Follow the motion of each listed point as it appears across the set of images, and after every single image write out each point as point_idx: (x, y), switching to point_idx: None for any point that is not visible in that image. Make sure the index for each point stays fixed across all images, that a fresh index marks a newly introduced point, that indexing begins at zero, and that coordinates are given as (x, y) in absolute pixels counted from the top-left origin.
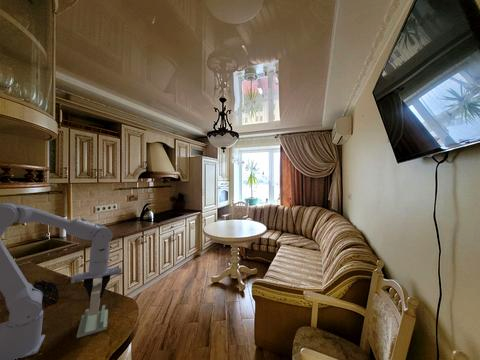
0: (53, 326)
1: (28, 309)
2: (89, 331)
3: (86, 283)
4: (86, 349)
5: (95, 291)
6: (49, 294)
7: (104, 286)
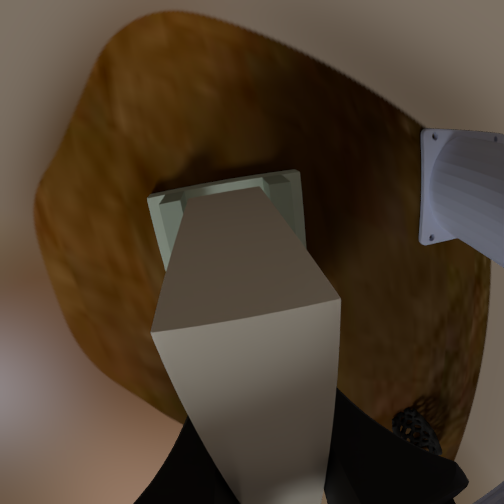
0: (399, 300)
1: None
2: (237, 181)
3: (442, 498)
4: (216, 54)
5: (268, 394)
6: (412, 439)
7: (177, 474)
